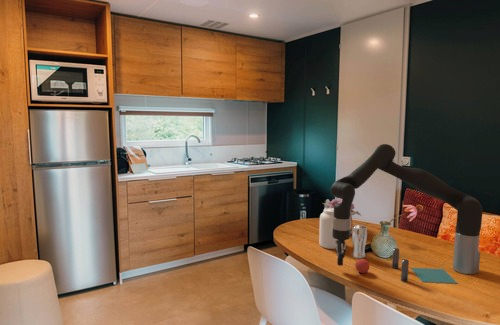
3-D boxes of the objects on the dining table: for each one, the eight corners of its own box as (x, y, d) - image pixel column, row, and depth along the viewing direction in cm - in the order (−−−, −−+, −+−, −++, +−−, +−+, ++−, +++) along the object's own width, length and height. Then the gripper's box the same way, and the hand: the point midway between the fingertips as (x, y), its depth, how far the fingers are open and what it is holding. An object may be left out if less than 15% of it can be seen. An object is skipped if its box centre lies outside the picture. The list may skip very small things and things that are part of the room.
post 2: (406, 279, 150) (407, 259, 149) (408, 282, 148) (409, 261, 147) (400, 279, 150) (401, 258, 149) (402, 282, 148) (403, 261, 147)
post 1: (397, 266, 163) (398, 247, 162) (399, 269, 161) (400, 250, 159) (391, 266, 163) (392, 247, 162) (393, 268, 161) (394, 249, 160)
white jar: (340, 241, 197) (341, 206, 194) (344, 249, 184) (345, 212, 182) (318, 241, 198) (318, 206, 195) (320, 249, 185) (321, 211, 183)
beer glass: (356, 259, 172) (357, 229, 170) (348, 254, 178) (349, 225, 176) (368, 258, 173) (370, 228, 172) (360, 252, 180) (361, 224, 178)
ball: (367, 269, 160) (368, 257, 159) (370, 275, 154) (371, 262, 153) (354, 269, 161) (354, 256, 160) (356, 274, 155) (356, 261, 154)
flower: (372, 227, 216) (356, 189, 221) (362, 234, 197) (345, 192, 202) (342, 236, 226) (327, 199, 231) (330, 243, 207) (315, 203, 212)
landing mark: (443, 269, 160) (443, 268, 160) (457, 283, 146) (457, 283, 146) (410, 268, 162) (410, 267, 162) (422, 282, 148) (422, 281, 148)
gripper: (352, 232, 149) (351, 271, 151) (347, 223, 162) (346, 259, 164) (334, 231, 150) (333, 270, 152) (331, 222, 163) (329, 258, 165)
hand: (340, 264), depth 158 cm, fingers closed
